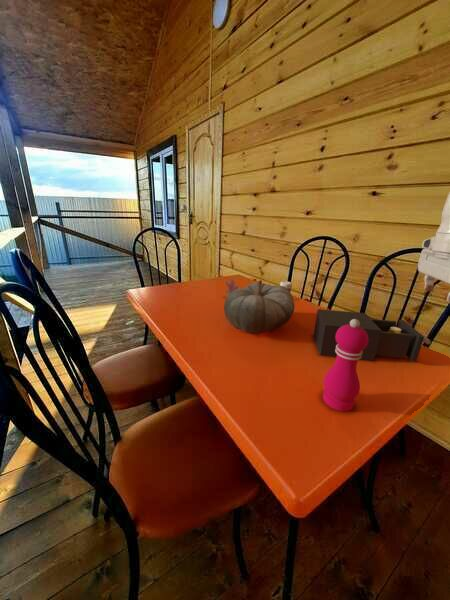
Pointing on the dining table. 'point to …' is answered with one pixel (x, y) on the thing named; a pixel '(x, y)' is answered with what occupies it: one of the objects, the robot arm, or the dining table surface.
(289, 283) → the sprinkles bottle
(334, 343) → the cabinet
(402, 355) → the drawer
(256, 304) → the gourd
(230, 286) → the lily
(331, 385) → the pepper mill
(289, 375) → the dining table surface
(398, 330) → the watch
